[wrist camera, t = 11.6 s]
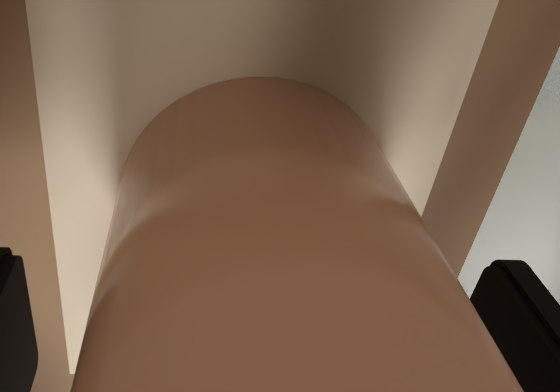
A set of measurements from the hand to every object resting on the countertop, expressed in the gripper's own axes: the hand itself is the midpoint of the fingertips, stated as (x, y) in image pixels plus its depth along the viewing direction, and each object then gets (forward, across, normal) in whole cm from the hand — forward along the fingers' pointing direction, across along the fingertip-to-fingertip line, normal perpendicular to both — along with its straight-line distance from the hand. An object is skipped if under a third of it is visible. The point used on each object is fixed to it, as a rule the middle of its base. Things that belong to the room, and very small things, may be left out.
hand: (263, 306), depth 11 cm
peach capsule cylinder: (+4, 0, 0) cm, 4 cm away
